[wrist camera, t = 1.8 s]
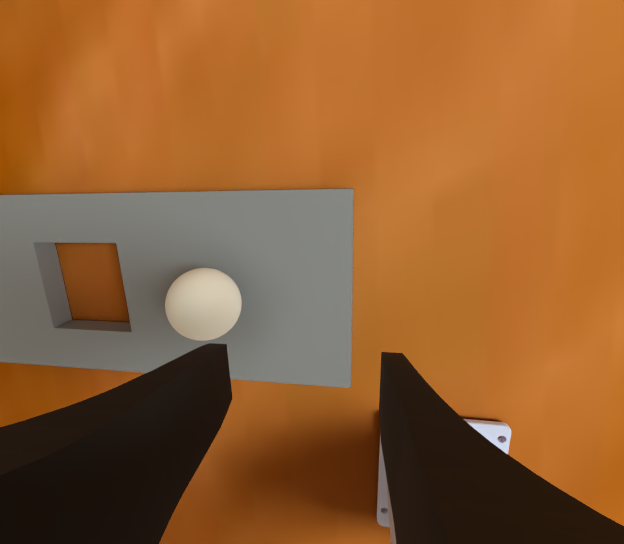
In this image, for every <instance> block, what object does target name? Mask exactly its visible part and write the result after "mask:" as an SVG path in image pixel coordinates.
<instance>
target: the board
mask: <svg viewBox="0 0 624 544" xmlns="http://www.w3.org/2000/svg"><path fill="white" fill-rule="evenodd" d="M353 218H354V188H352V189H298V190H243V191H189V192H135V193H80V194H26V195H0V362H8V363H21V364H35V365H48V366H61V367H75V368H88V369H102V370H115V371H128V372H142V373H148V372H150V371H152V370H154V369H156V368H158V367H160V366H162V365H164V364H166V363H168V362H170V361H172V360H174V359H176V358H178V357H180V356H182V355H184V354H186V353H188V352H190V351H192V350H194V349H196V348H198V347H200V346H203V345H205V344H208V343H215V344H227V352H228V362H229V371H230V379H236V380H249V381H262V382H276V383H289V384H303V385H316V386H330V387H343V388H351V369H352V293H353ZM55 243H116V245H117V250H118V256H119V262H120V268H121V273H122V279H123V285H124V290H125V296H126V302H127V307H128V313H129V319H130V322H113V321H92V320H72V316H71V312H70V307H69V303H68V298H67V294H66V289H65V285H64V280H63V276H62V272H61V267H60V263H59V258H58V254H57V249H56V245H55ZM197 268H212V269H216V270H219V271H221V272H223V273H225V274H226V275H228V276H229V277H230V278H231V279H232V280H233V281H234V282H235V283H236V285H237V287H238V289H239V291H240V294H241V300H242V306H241V312H240V315H239V318H238V320H237V322H236V323H235V325H234V326H233V327H232V328H231V329H230V330H229V331H228V332H227V333H225V334H224V335H222V336H220V337H218V338H216V339H212V340H207V341H197V340H192V339H189V338H186V337H184V336H182V335H181V334H179V333H178V332H177V331H176V330H175V329H174V328H173V327H172V325H171V324H170V322H169V320H168V318H167V315H166V311H165V300H166V296H167V293H168V290H169V288H170V287H171V285H172V284H173V282H174V281H175V280H176V279H177V278H178V277H179V276H181V275H182V274H184V273H186V272H188V271H190V270H193V269H197Z"/></svg>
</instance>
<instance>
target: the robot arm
mask: <svg viewBox="0 0 624 544" xmlns="http://www.w3.org/2000/svg"><path fill="white" fill-rule="evenodd" d="M231 400H232V391H231V381H230V371H229V362H228V352H227V344H215V343H208V344H205V345H203V346H200V347H198V348H196V349H194V350H192V351H190V352H188V353H186V354H184V355H182V356H180V357H178V358H176V359H174V360H172V361H170V362H168V363H166V364H164V365H162V366H160V367H158V368H156V369H154V370H152V371H150V372H148V373H146V374H144V375H142V376H139V377H137V378H135V379H133V380H131V381H129V382H127V383H124V384H122V385H120V386H118V387H116V388H113V389H111V390H109V391H106V392H104V393H102V394H99V395H97V396H94V397H91V398H89V399H86V400H84V401H81V402H78V403H76V404H73V405H70V406H68V407H65V408H62V409H58V410H55V411H52V412H49V413H46V414H43V415H40V416H37V417H34V418H31V419H28V420H25V421H22V422H18V423H15V424H11V425H8V426H4V427H0V544H159V542H160V540H161V538H162V536H163V533H164V531H165V529H166V527H167V525H168V522H169V520H170V518H171V516H172V514H173V512H174V510H175V508H176V506H177V504H178V502H179V500H180V498H181V496H182V494H183V493H184V491H185V489H186V487H187V486H188V484H189V482H190V480H191V479H192V477H193V475H194V473H195V472H196V470H197V468H198V466H199V465H200V463H201V461H202V459H203V458H204V456H205V454H206V452H207V451H208V449H209V447H210V445H211V444H212V442H213V440H214V438H215V436H216V435H217V433H218V431H219V429H220V427H221V425H222V423H223V420H224V418H225V416H226V413H227V411H228V408H229V405H230V403H231ZM379 415H380V448H379V472H378V496H377V522H378V524H379V525H381V526H385V527H390V539H391V544H624V526H622V525H620V524H618V523H616V522H615V521H613V520H611V519H609V518H607V517H605V516H604V515H602V514H600V513H598V512H597V511H595V510H593V509H592V508H590V507H588V506H587V505H585V504H583V503H582V502H580V501H578V500H577V499H575V498H573V497H572V496H570V495H568V494H567V493H565V492H563V491H562V490H560V489H558V488H557V487H555V486H554V485H552V484H550V483H549V482H547V481H546V480H544V479H543V478H541V477H540V476H538V475H536V474H535V473H533V472H532V471H531V470H529V469H528V468H526V467H525V466H523V465H522V464H521V463H519V462H518V461H516V460H515V459H513V458H512V457H510V456H509V455H508V450H509V444H510V438H511V429H510V428H509V426H508V425H507V424H506V423H504V422H495V421H483V420H471V419H463V418H461V417H460V416H459V415H458V414H457V413H456V412H455V411H454V410H453V409H452V408H451V407H450V406H449V405H448V404H447V403H445V401H444V400H443V399H442V398H441V397H440V396H439V395H438V394H437V393H436V392H435V391H434V390H433V389H432V388H431V387H430V385H429V384H428V383H427V382H426V381H425V380H424V379H423V378H422V376H421V375H420V374H419V373H418V372H417V370H416V369H415V368H414V367H413V365H412V364H411V363H410V362H409V360H408V359H407V358H406V357H405V356H404V355H403V354H402V353H388V352H382V354H381V379H380V403H379ZM499 436H503V437H502V438H498V437H499ZM384 508H385V509H384Z"/></svg>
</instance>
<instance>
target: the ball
mask: <svg viewBox="0 0 624 544" xmlns="http://www.w3.org/2000/svg"><path fill="white" fill-rule="evenodd" d="M241 306H242V300H241V294H240V291H239V289H238V287H237V285H236V283H235V282H234V281H233V280H232V279H231V278H230V277H229V276H228V275H226V274H225V273H223V272H221V271H219V270H216V269H212V268H197V269H193V270H190V271H188V272H186V273H184V274H182V275H181V276H179V277H178V278H177V279H176V280H175V281H174V282H173V284H172V285H171V287H170V288H169V290H168V293H167V296H166V300H165V311H166V315H167V318H168V320H169V322H170V324H171V325H172V327H173V328H174V329H175V330H176V331H177V332H178V333H179V334H181V335H182V336H184V337H186V338H189V339H192V340H197V341H207V340H212V339H216V338H218V337H220V336H222V335H224V334H225V333H227V332H228V331H229V330H230V329H231V328H232V327H233V326H234V325H235V323H236V322H237V320H238V318H239V315H240V312H241Z"/></svg>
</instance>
